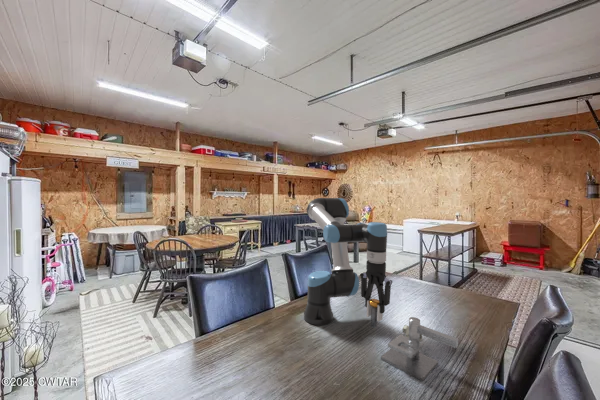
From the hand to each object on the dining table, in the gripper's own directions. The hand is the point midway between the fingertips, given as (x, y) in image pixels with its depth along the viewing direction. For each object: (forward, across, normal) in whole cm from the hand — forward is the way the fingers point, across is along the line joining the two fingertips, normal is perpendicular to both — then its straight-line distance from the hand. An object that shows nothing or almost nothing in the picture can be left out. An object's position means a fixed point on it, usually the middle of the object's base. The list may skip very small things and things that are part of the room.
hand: (374, 317), depth 105 cm
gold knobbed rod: (+4, 0, 0) cm, 4 cm away
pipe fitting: (+15, +5, +21) cm, 26 cm away
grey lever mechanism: (+14, +16, +4) cm, 22 cm away
